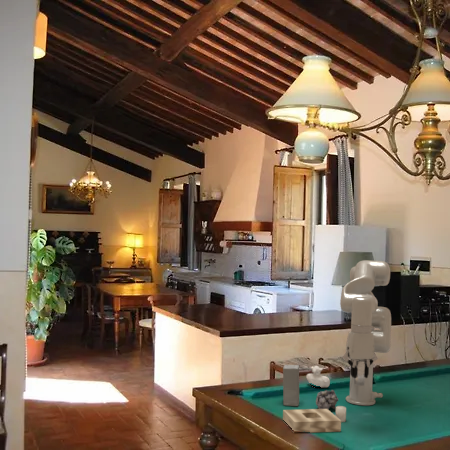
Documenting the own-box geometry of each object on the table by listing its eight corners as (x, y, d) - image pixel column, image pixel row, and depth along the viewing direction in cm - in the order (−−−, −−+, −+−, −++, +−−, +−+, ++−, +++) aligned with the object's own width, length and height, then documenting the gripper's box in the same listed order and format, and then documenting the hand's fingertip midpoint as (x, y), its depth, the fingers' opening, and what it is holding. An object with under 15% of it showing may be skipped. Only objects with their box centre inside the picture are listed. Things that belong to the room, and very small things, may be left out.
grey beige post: (361, 382, 224) (362, 359, 224) (366, 385, 220) (367, 361, 220) (352, 382, 223) (353, 359, 223) (356, 385, 219) (357, 361, 219)
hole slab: (326, 418, 228) (327, 408, 228) (340, 431, 214) (341, 420, 214) (282, 420, 224) (283, 409, 224) (294, 433, 211) (294, 422, 211)
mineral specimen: (322, 407, 231) (325, 383, 236) (306, 409, 238) (310, 386, 243) (343, 418, 236) (346, 394, 241) (326, 420, 242) (330, 397, 248)
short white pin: (343, 418, 229) (343, 405, 229) (347, 421, 225) (347, 409, 225) (333, 418, 229) (334, 406, 229) (337, 422, 225) (338, 409, 225)
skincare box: (298, 407, 242) (299, 369, 242) (281, 405, 243) (282, 367, 244) (299, 401, 250) (301, 364, 250) (283, 399, 252) (284, 363, 252)
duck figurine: (305, 389, 278) (299, 373, 272) (311, 377, 283) (305, 361, 277) (328, 394, 271) (322, 377, 266) (334, 381, 276) (328, 365, 270)
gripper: (376, 327, 227) (375, 374, 227) (336, 327, 223) (335, 374, 223) (385, 331, 219) (384, 379, 219) (344, 331, 216) (342, 380, 216)
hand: (359, 376), depth 221 cm, fingers closed on grey beige post, 4 cm apart
